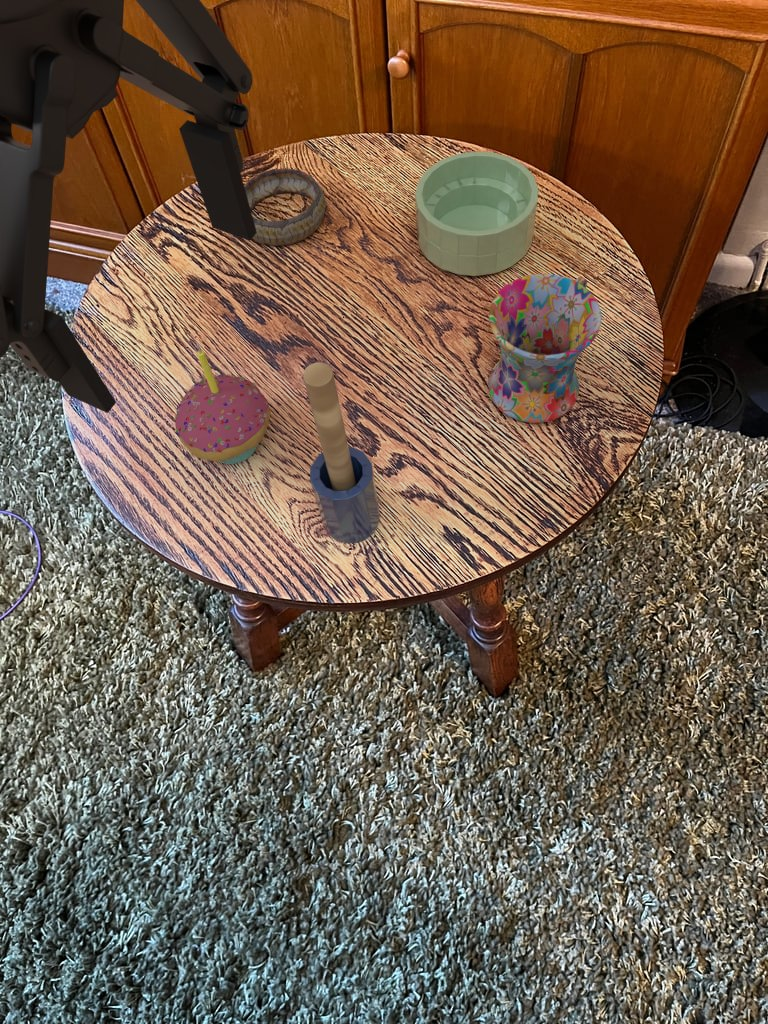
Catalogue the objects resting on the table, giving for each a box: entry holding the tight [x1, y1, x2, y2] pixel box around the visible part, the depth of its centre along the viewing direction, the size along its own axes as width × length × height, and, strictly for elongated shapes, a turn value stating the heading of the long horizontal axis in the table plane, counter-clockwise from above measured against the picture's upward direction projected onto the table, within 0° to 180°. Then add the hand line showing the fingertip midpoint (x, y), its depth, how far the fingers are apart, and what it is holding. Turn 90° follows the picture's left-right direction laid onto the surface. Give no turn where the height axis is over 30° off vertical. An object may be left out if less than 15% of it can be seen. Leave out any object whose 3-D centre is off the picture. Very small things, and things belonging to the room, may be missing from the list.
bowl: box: [414, 150, 540, 277], centre depth 81 cm, size 12×12×6 cm
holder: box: [309, 445, 381, 544], centre depth 65 cm, size 5×5×8 cm
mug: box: [487, 273, 602, 424], centre depth 69 cm, size 12×9×11 cm
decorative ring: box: [244, 167, 327, 247], centre depth 86 cm, size 10×3×10 cm
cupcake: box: [174, 343, 272, 465], centre depth 68 cm, size 9×8×12 cm
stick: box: [302, 361, 356, 491], centre depth 59 cm, size 2×2×20 cm
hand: (167, 310), depth 43 cm, fingers open, 13 cm apart
